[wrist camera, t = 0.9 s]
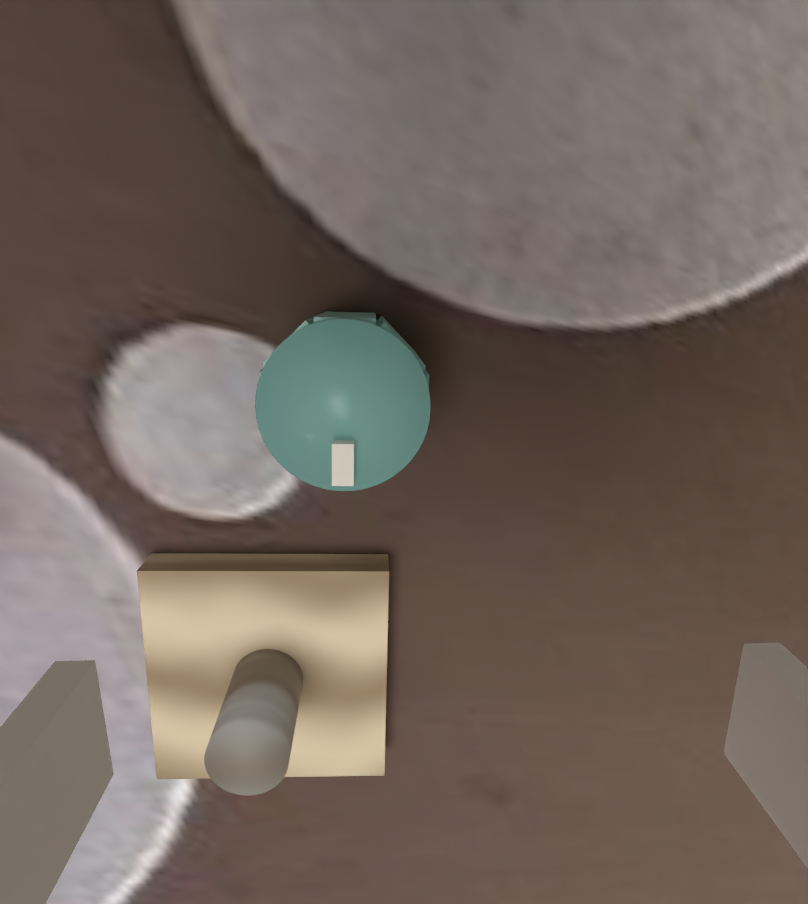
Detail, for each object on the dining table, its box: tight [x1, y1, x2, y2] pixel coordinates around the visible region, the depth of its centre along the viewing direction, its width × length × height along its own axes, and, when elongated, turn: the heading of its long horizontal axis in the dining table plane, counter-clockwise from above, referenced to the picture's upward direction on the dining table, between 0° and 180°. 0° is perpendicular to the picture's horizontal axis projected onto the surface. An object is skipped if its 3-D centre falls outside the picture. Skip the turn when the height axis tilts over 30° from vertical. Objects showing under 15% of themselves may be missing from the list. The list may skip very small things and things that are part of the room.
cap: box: [255, 311, 431, 491], centre depth 25 cm, size 6×6×8 cm
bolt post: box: [137, 553, 389, 795], centre depth 29 cm, size 12×12×8 cm
